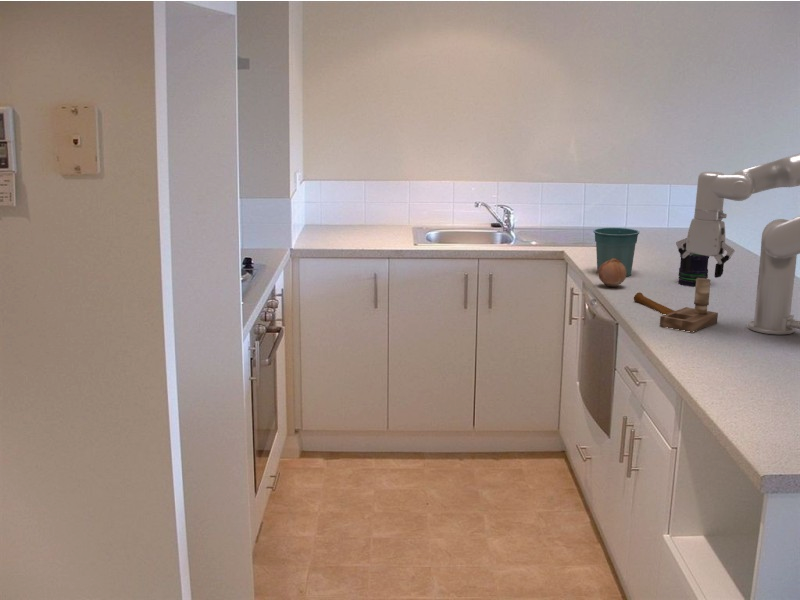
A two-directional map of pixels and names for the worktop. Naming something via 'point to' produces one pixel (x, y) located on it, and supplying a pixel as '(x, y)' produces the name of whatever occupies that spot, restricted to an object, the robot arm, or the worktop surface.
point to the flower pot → (616, 246)
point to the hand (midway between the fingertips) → (701, 274)
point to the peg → (702, 295)
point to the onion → (612, 272)
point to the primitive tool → (651, 304)
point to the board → (688, 319)
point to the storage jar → (693, 269)
